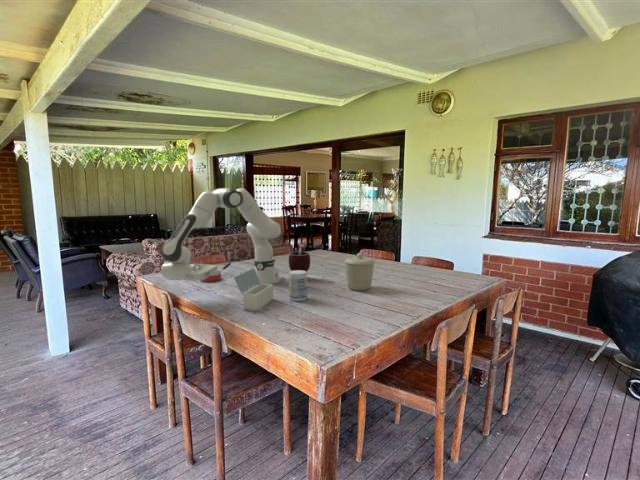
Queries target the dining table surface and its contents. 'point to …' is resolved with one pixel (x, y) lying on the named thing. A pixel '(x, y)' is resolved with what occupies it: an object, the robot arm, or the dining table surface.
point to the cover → (247, 280)
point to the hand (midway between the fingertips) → (219, 273)
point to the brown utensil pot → (299, 261)
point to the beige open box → (258, 297)
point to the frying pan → (215, 277)
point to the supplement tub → (297, 285)
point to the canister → (359, 272)
